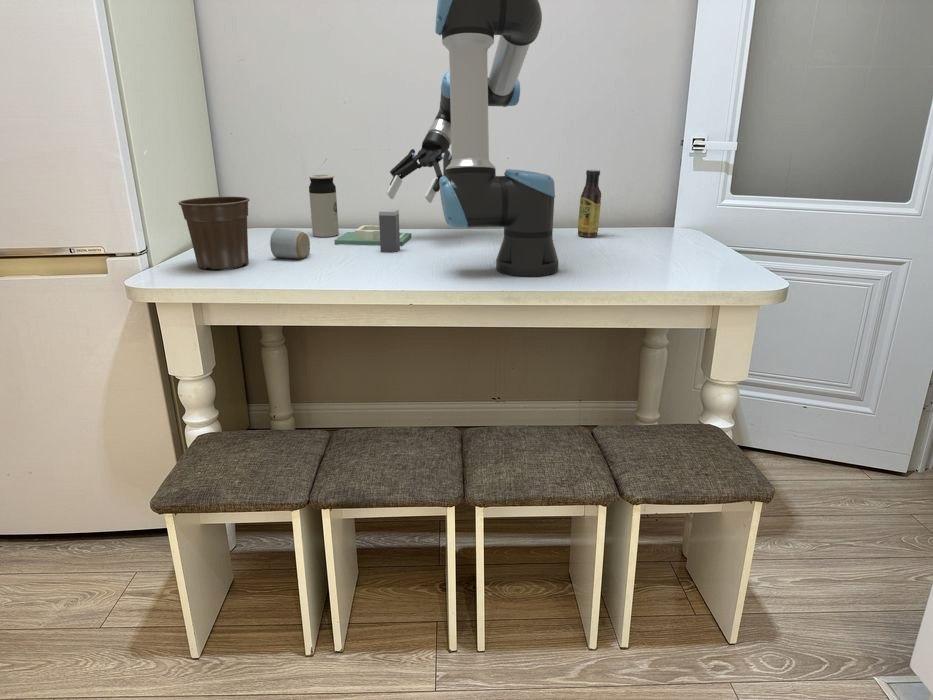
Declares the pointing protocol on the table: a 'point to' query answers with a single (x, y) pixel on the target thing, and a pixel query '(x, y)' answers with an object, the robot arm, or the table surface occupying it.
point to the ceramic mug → (289, 243)
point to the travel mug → (323, 206)
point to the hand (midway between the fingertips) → (408, 198)
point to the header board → (367, 236)
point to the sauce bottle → (590, 205)
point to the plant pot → (218, 230)
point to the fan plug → (389, 230)
